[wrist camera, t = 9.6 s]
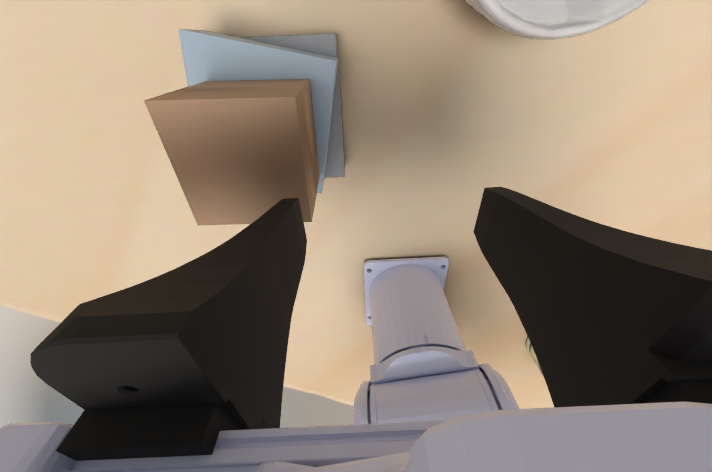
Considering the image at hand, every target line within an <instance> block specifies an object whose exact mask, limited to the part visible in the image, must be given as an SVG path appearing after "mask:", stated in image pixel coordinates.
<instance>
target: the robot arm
mask: <svg viewBox="0 0 712 472" xmlns="http://www.w3.org/2000/svg"><path fill="white" fill-rule="evenodd" d="M474 234H475V236H476V239H477V242H478V244H479V246H480V249H481V251H482V253H483V255H484V256H485V258H486V260H487V262H488V263H489V265H490V267H491V268H492V270H493V271H494V273H495V275H496V276H497V278H498V280H499V281H500V283H501V285H502V286H503V288H504V289H505V291H506V293H507V294H508V296H509V298H510V300H511V301H512V303H513V305H514V307H515V309H516V311H517V313H518V315H519V318H520V320H521V322H522V324H523V326H524V328H525V331H526V333H527V335H528V338H529V340H530V343H531V345H532V347H533V350H534V352H535V354H536V357H537V360H538V362H539V365H540V368H541V370H542V373H543V376H544V378H545V381H546V383H547V386H548V389H549V392H550V395H551V398H552V401H553V404H554V407H555V408H534V409H519V407H518V405H517V403H516V400H515V398H514V396H513V394H512V392H511V390H510V388H509V386H508V385H507V383H506V381H505V380H504V378H503V377H502V376H501V375H500V374H499V373H498V372H497V371H495V370H494V369H493V368H492V367H491V366H489V365H488V364H480V365H478V364H477V362H476V359H475V357H474V354H473V352H472V350H466V349H465V347H464V344H463V341H462V339H461V336H460V333H459V331H458V328H457V325H456V323H455V320H454V318H453V315H452V312H451V310H450V307H449V304H448V302H447V299H446V296H445V294H444V291H443V290H444V285H445V280H446V275H447V270H448V265H449V260H448V258H447V257H424V258H405V259H385V260H368V261H366V262H365V263H364V282H365V307H366V324H367V325H369V326H372V336H373V349H374V361H375V365H371V366H370V375H371V381H364V382H363V383H362V384H361V386H360V388H359V390H358V391H357V393H356V396H355V401H354V425H338V426H315V427H294V428H280V416H281V403H282V392H283V382H284V372H285V362H286V354H287V345H288V337H289V330H290V322H291V316H292V311H293V306H294V302H295V298H296V294H297V290H298V286H299V282H300V278H301V274H302V270H303V266H304V262H305V254H306V244H307V239H306V233H305V228H304V223H303V218H302V213H301V208H300V202H299V198H287V199H282V200H280V201H279V202H278V203H276V204H275V205H274V206H273V207H271V208H270V209H269V210H268V211H267V212H265V213H264V214H263V215H262V216H261V217H259V218H258V219H257V220H256V221H254V222H253V223H252V224H250V225H249V226H248V227H246V228H245V229H244V230H242V231H241V232H239V233H238V234H237V235H235V236H234V237H232V238H231V239H229V240H228V241H226V242H225V243H223V244H222V245H220V246H218V247H217V248H215V249H213V250H211V251H210V252H208V253H206V254H204V255H202V256H200V257H198V258H196V259H194V260H192V261H190V262H188V263H186V264H184V265H182V266H180V267H178V268H176V269H174V270H172V271H169V272H167V273H165V274H162V275H160V276H158V277H155V278H153V279H150V280H148V281H145V282H143V283H140V284H138V285H135V286H132V287H130V288H127V289H124V290H121V291H118V292H115V293H112V294H109V295H106V296H103V297H100V298H97V299H94V300H91V301H88V302H85V303H82V304H80V305H78V306H77V307H76V308H75V309H74V310H73V311H72V312H71V313H70V314H69V315H68V316H67V317H66V318H65V319H64V321H63V322H62V323H61V324H60V325H59V326H58V327H57V328H56V329H54V330H53V332H51V334H49V336H47V337H46V338H45V339H44V340H43V341H42V342H41V343H40V344H39V345H38V346H37V348H36V349H35V350H34V351H33V352H32V353H31V366H32V368H33V370H34V371H35V373H36V375H37V376H38V377H40V378H41V379H42V380H43V381H44V382H46V383H47V384H48V385H49V386H51V387H52V388H54V389H55V390H57V391H58V392H59V393H61V394H63V395H64V396H65V397H67V398H68V399H70V400H71V401H73V402H74V403H76V404H77V405H78V406H80V407H82V408H83V409H84V410H85V411H84V412H83V413H82V415H81V416H80V418H79V419H78V420H77V422H76V423H75V425H72V424H67V423H63V422H39V423H16V424H8V425H5V426H3V427H2V428H1V429H0V472H712V251H711V250H705V249H700V248H694V247H690V246H685V245H680V244H675V243H670V242H666V241H662V240H658V239H653V238H649V237H645V236H641V235H637V234H633V233H629V232H626V231H622V230H619V229H616V228H612V227H609V226H606V225H602V224H599V223H596V222H593V221H590V220H587V219H584V218H581V217H579V216H576V215H573V214H570V213H568V212H565V211H563V210H560V209H557V208H555V207H552V206H550V205H547V204H545V203H543V202H540V201H538V200H535V199H533V198H530V197H528V196H526V195H523V194H521V193H518V192H515V191H512V190H510V189H506V188H503V187H492V188H485V189H484V193H483V197H482V201H481V205H480V209H479V213H478V217H477V220H476V224H475V228H474ZM442 265H444V266H442ZM367 269H371V270H367Z"/></svg>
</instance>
